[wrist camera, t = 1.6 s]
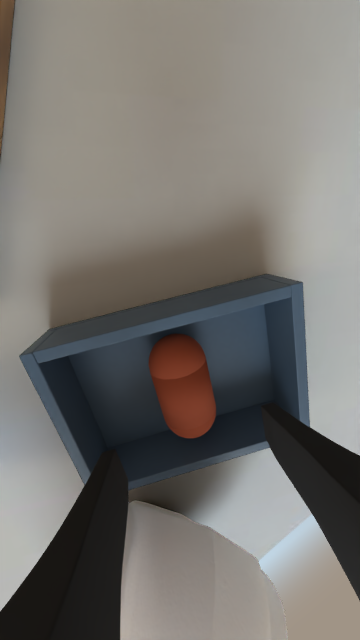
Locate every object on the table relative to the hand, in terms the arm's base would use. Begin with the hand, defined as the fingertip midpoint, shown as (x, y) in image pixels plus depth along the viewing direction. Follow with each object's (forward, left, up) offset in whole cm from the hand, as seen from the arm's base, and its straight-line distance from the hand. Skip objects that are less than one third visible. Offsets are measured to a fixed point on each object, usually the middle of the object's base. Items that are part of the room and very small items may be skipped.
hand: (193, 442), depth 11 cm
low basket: (-1, -1, -9) cm, 9 cm away
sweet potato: (-1, -1, -9) cm, 9 cm away
